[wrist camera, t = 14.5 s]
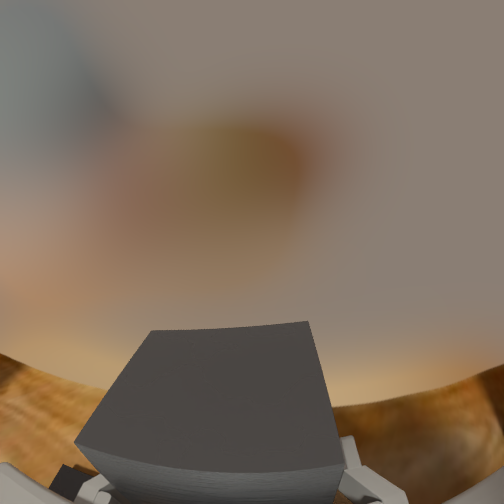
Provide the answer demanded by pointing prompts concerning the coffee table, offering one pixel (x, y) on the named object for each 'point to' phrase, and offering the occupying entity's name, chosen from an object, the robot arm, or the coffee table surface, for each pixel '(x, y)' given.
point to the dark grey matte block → (219, 420)
